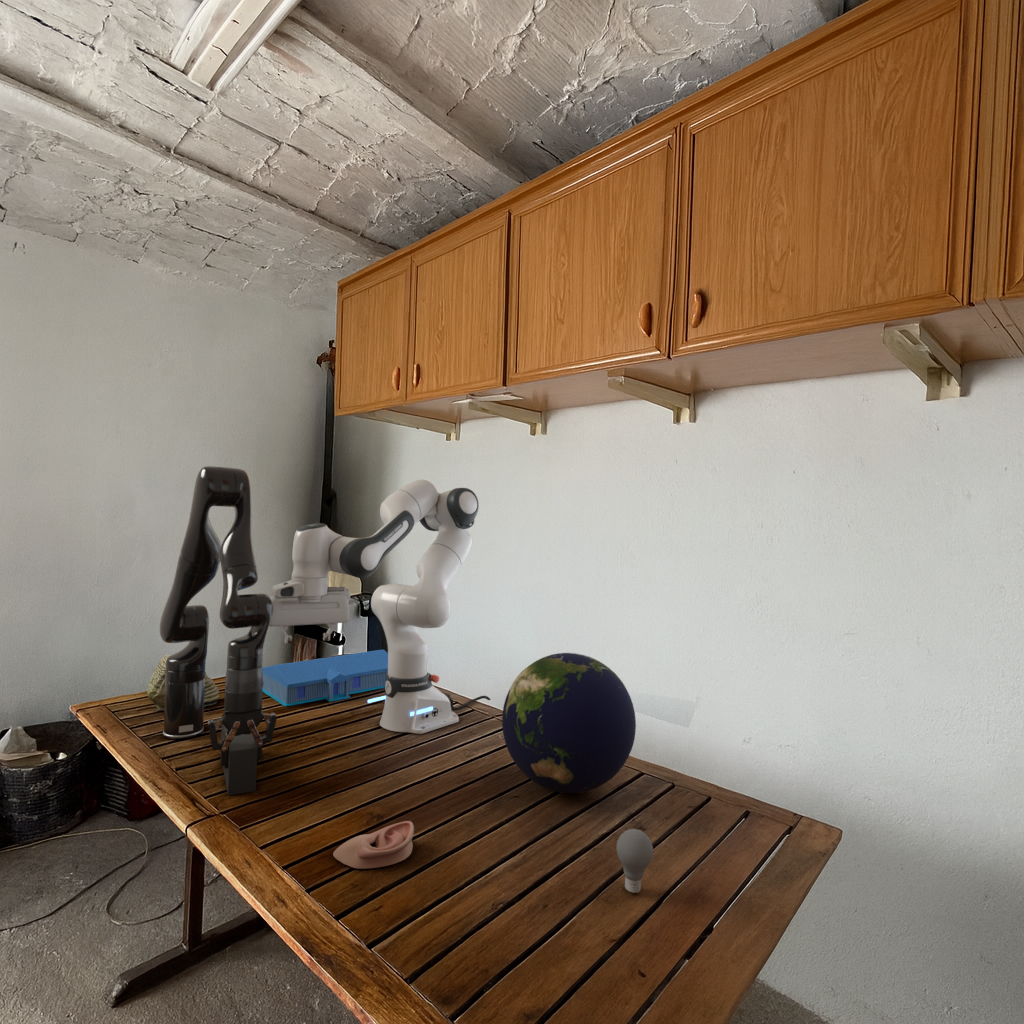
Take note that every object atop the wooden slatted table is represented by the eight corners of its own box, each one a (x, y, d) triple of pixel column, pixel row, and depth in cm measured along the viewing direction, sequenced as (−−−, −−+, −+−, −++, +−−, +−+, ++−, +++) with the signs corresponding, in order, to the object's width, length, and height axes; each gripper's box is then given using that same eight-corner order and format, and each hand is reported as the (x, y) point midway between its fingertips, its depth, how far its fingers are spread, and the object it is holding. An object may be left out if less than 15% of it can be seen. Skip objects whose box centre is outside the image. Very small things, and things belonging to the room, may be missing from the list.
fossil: (144, 707, 182) (145, 655, 182) (212, 696, 194) (213, 647, 194) (151, 716, 175) (153, 662, 175) (221, 703, 188) (223, 653, 188)
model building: (289, 709, 186) (291, 675, 185) (258, 688, 204) (259, 657, 204) (403, 687, 212) (405, 657, 212) (366, 670, 230) (368, 643, 230)
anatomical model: (325, 840, 109) (354, 809, 121) (324, 863, 109) (354, 830, 121) (397, 852, 107) (421, 819, 118) (396, 876, 107) (420, 840, 118)
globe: (477, 800, 135) (483, 660, 134) (527, 751, 163) (532, 634, 162) (615, 833, 124) (622, 681, 123) (643, 774, 151) (649, 649, 151)
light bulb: (610, 879, 108) (613, 822, 108) (644, 879, 109) (647, 822, 109) (619, 902, 102) (622, 840, 102) (655, 901, 103) (658, 840, 103)
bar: (255, 791, 135) (257, 747, 135) (228, 795, 132) (229, 751, 132) (244, 751, 155) (246, 713, 155) (220, 754, 153) (221, 716, 152)
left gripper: (276, 679, 143) (273, 753, 143) (206, 685, 136) (203, 763, 136) (281, 688, 136) (278, 766, 137) (207, 695, 129) (205, 777, 130)
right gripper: (347, 584, 168) (345, 636, 168) (265, 586, 158) (263, 641, 159) (353, 588, 163) (351, 641, 163) (269, 590, 153) (267, 647, 153)
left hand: (241, 764), depth 136 cm, fingers closed on bar, 5 cm apart
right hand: (307, 641), depth 161 cm, fingers open, 8 cm apart
